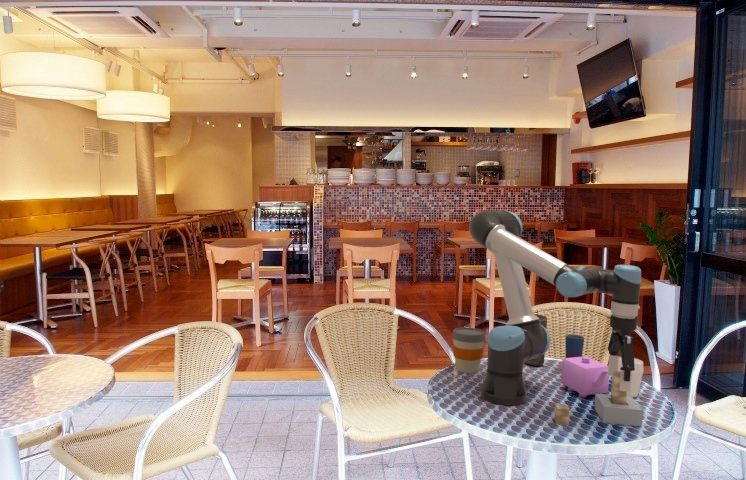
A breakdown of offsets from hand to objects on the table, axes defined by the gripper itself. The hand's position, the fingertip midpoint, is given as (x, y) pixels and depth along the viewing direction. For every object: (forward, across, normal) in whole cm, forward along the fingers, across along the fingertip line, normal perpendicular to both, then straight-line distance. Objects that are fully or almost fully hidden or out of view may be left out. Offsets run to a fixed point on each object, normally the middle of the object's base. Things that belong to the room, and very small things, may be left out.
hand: (618, 382), depth 167 cm
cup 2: (+11, +22, -10) cm, 26 cm away
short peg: (+11, -8, +18) cm, 22 cm away
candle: (+12, +48, +18) cm, 52 cm away
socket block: (+11, 0, 0) cm, 11 cm away
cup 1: (+12, +39, +6) cm, 41 cm away
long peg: (+11, 0, 0) cm, 11 cm away
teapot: (+11, +19, +4) cm, 22 cm away
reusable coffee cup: (+12, +36, +46) cm, 59 cm away
